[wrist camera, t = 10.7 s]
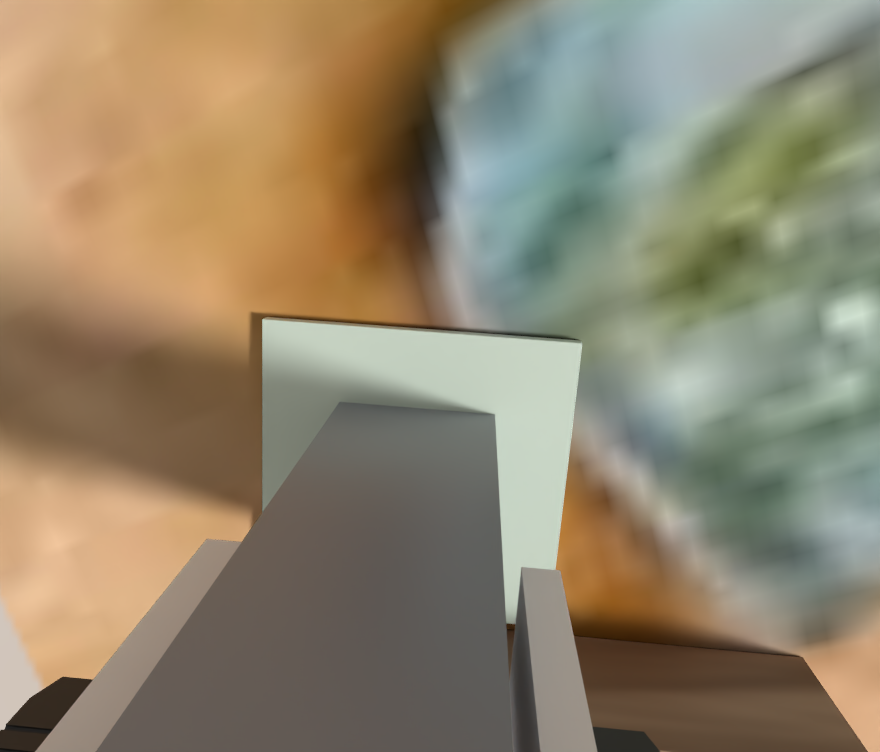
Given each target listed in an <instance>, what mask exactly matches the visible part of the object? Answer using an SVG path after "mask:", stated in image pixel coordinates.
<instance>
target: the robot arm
mask: <svg viewBox="0 0 880 752" xmlns="http://www.w3.org/2000/svg"><path fill="white" fill-rule="evenodd" d="M240 544H241V542H236V541H224V540H213V539H206V540H205V542H204V543H203V544H202V545H201V546H200V548H199V549H198V550H197V551H196V553H195V554H194V555H193V556H192V558H191V559H190V560H189V561H188V563H187V564H186V565H185V566H184V568H183V569H182V570H181V571H180V573H179V574H178V575H177V576H176V577H175V579H174V580H173V581H172V582H171V584H170V585H169V586H168V587H167V589H166V590H165V591H164V592H163V594H162V595H161V596H160V597H159V599H158V600H157V601H156V602H155V604H154V605H153V606H152V607H151V609H150V610H149V611H148V612H147V613H146V615H145V616H144V617H143V618H142V620H141V621H140V622H139V623H138V625H137V626H136V627H135V628H134V630H133V631H132V632H131V633H130V635H129V636H128V637H127V638H126V640H125V641H124V642H123V643H122V645H121V646H120V647H119V648H118V649H117V651H116V652H115V653H114V654H113V656H112V657H111V658H110V659H109V661H108V662H107V663H106V664H105V666H104V667H103V668H102V669H101V671H100V672H99V673H98V674H97V676H96V677H95V678H94V679H93V680H91V679H81V678H70V677H62V678H60V679H59V680H57V681H55V682H54V683H52V684H51V685H49V686H48V687H46V688H45V689H43V690H42V691H40V692H38V693H37V694H35V695H34V696H32V697H31V698H29V700H28V701H27V702H26V703H25V704H24V705H23V706H22V707H21V708H20V710H19V711H18V712H17V713H16V714H15V715H14V716H13V717H12V719H11V720H10V721H9V722H8V723H7V724H6V727H5V729H4V730H1V731H0V752H96V751H97V749H98V748H99V746H100V745H101V743H102V742H103V740H104V739H105V738H106V736H107V735H108V733H109V732H110V730H111V729H112V728H113V726H114V725H115V723H116V722H117V720H118V719H119V718H120V716H121V715H122V713H123V712H124V710H125V709H126V707H127V706H128V705H129V703H130V702H131V700H132V699H133V697H134V696H135V695H136V693H137V692H138V690H139V689H140V687H141V686H142V685H143V683H144V682H145V680H146V679H147V677H148V676H149V674H150V673H151V672H152V670H153V669H154V667H155V666H156V664H157V663H158V662H159V660H160V659H161V657H162V656H163V654H164V653H165V652H166V650H167V649H168V647H169V646H170V644H171V643H172V641H173V640H174V639H175V637H176V636H177V634H178V633H179V631H180V630H181V629H182V627H183V626H184V624H185V623H186V621H187V620H188V619H189V617H190V616H191V614H192V613H193V611H194V610H195V608H196V607H197V606H198V604H199V603H200V601H201V600H202V598H203V597H204V596H205V594H206V593H207V591H208V590H209V588H210V587H211V586H212V584H213V583H214V581H215V580H216V578H217V577H218V575H219V574H220V573H221V571H222V570H223V568H224V567H225V565H226V564H227V563H228V561H229V560H230V558H231V557H232V555H233V554H234V553H235V551H236V550H237V548H238V547H239V545H240ZM509 684H510V703H511V721H512V740H513V752H660V751H659V750H658V748H657V747H656V746H655V745H654V743H653V742H652V741H651V740H650V738H649V737H648V736H647V735H646V733H645V732H642V731H632V730H622V729H612V728H602V727H592V723H591V718H590V713H589V708H588V704H587V699H586V694H585V689H584V684H583V679H582V674H581V669H580V665H579V660H578V655H577V650H576V645H575V640H574V635H573V630H572V626H571V621H570V616H569V611H568V606H567V601H566V596H565V591H564V587H563V582H562V577H561V572H560V570H550V569H538V568H527V567H521V576H520V586H519V595H518V605H517V614H516V624H515V633H514V643H513V652H512V662H511V671H510V681H509Z"/></svg>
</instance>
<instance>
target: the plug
mask: <svg viewBox="0 0 880 752" xmlns="http://www.w3.org/2000/svg"><path fill="white" fill-rule="evenodd" d="M96 752H513V740H512V721H511V703H510V684H509V666H508V647H507V629H506V610H505V591H504V573H503V554H502V536H501V517H500V499H499V480H498V461H497V443H496V424H495V414H485V413H473V412H460V411H448V410H435V409H423V408H410V407H398V406H385V405H373V404H360V403H348V402H339V403H338V405H337V406H336V408H335V409H334V410H333V412H332V413H331V415H330V416H329V418H328V419H327V421H326V422H325V423H324V425H323V426H322V428H321V429H320V431H319V432H318V433H317V435H316V436H315V438H314V439H313V441H312V442H311V443H310V445H309V446H308V448H307V449H306V451H305V452H304V454H303V455H302V456H301V458H300V459H299V461H298V462H297V464H296V465H295V466H294V468H293V469H292V471H291V472H290V474H289V475H288V476H287V478H286V479H285V481H284V482H283V484H282V485H281V487H280V488H279V489H278V491H277V492H276V494H275V495H274V497H273V498H272V499H271V501H270V502H269V504H268V505H267V507H266V508H265V509H264V511H263V512H262V514H261V515H260V517H259V518H258V520H257V521H256V522H255V524H254V525H253V527H252V528H251V530H250V531H249V532H248V534H247V535H246V537H245V538H244V540H243V541H242V542H241V544H240V545H239V547H238V548H237V550H236V551H235V553H234V554H233V555H232V557H231V558H230V560H229V561H228V563H227V564H226V565H225V567H224V568H223V570H222V571H221V573H220V574H219V575H218V577H217V578H216V580H215V581H214V583H213V584H212V586H211V587H210V588H209V590H208V591H207V593H206V594H205V596H204V597H203V598H202V600H201V601H200V603H199V604H198V606H197V607H196V608H195V610H194V611H193V613H192V614H191V616H190V617H189V619H188V620H187V621H186V623H185V624H184V626H183V627H182V629H181V630H180V631H179V633H178V634H177V636H176V637H175V639H174V640H173V641H172V643H171V644H170V646H169V647H168V649H167V650H166V652H165V653H164V654H163V656H162V657H161V659H160V660H159V662H158V663H157V664H156V666H155V667H154V669H153V670H152V672H151V673H150V674H149V676H148V677H147V679H146V680H145V682H144V683H143V685H142V686H141V687H140V689H139V690H138V692H137V693H136V695H135V696H134V697H133V699H132V700H131V702H130V703H129V705H128V706H127V707H126V709H125V710H124V712H123V713H122V715H121V716H120V718H119V719H118V720H117V722H116V723H115V725H114V726H113V728H112V729H111V730H110V732H109V733H108V735H107V736H106V738H105V739H104V740H103V742H102V743H101V745H100V746H99V748H98V749H97V751H96Z"/></svg>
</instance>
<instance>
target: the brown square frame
mask: <svg viewBox="0 0 880 752" xmlns="http://www.w3.org/2000/svg"><path fill="white" fill-rule="evenodd" d="M514 633H515V631H513V630H507V647H508V666H509V681H510V671H511V662H512V652H513V643H514ZM574 640H575V645H576V650H577V655H578V660H579V665H580V669H581V674H582V679H583V684H584V689H585V694H586V699H587V704H588V708H589V713H590V718H591V723H592V727H602V728H612V729H622V730H632V731H642V732H645V733H646V735H647V736H648V737H649V738H650V740H651V741H652V742H653V743H654V745H655V746H656V747H657V748H658V750H659V751H660V752H868V751H867V750H866V749H865V747H864V746H863V744H862V743H861V741H860V740H859V738H858V737H857V736H856V734H855V733H854V731H853V730H852V728H851V727H850V725H849V724H848V722H847V721H846V720H845V718H844V717H843V715H842V714H841V712H840V711H839V709H838V708H837V707H836V705H835V704H834V702H833V701H832V699H831V698H830V696H829V695H828V694H827V692H826V691H825V689H824V688H823V686H822V685H821V683H820V682H819V681H818V679H817V678H816V676H815V675H814V673H813V672H812V670H811V669H810V668H809V666H808V665H807V663H806V662H805V660H804V659H803V657H793V656H783V655H772V654H761V653H750V652H739V651H729V650H718V649H707V648H696V647H686V646H675V645H664V644H653V643H643V642H632V641H621V640H610V639H599V638H589V637H578V636H574Z"/></svg>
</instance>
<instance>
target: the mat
mask: <svg viewBox="0 0 880 752" xmlns="http://www.w3.org/2000/svg"><path fill="white" fill-rule="evenodd" d="M581 351H582V342H581V341H580V340H566V339H553V338H540V337H526V336H513V335H500V334H487V333H473V332H460V331H447V330H434V329H420V328H407V327H394V326H380V325H367V324H354V323H341V322H327V321H314V320H301V319H288V318H274V317H266V318H264V319H262V512H263V511H264V509H265V508H266V507H267V505H268V504H269V502H270V501H271V499H272V498H273V497H274V495H275V494H276V492H277V491H278V489H279V488H280V487H281V485H282V484H283V482H284V481H285V479H286V478H287V476H288V475H289V474H290V472H291V471H292V469H293V468H294V466H295V465H296V464H297V462H298V461H299V459H300V458H301V456H302V455H303V454H304V452H305V451H306V449H307V448H308V446H309V445H310V443H311V442H312V441H313V439H314V438H315V436H316V435H317V433H318V432H319V431H320V429H321V428H322V426H323V425H324V423H325V422H326V421H327V419H328V418H329V416H330V415H331V413H332V412H333V410H334V409H335V408H336V406H337V405H338V403H339V402H348V403H360V404H373V405H385V406H398V407H410V408H423V409H435V410H448V411H460V412H473V413H485V414H495V424H496V443H497V461H498V480H499V499H500V517H501V536H502V554H503V573H504V591H505V610H506V623H508V624H516V614H517V605H518V595H519V586H520V576H521V567H527V568H538V569H550V570H555V569H556V561H557V552H558V544H559V535H560V527H561V519H562V510H563V502H564V493H565V485H566V477H567V468H568V460H569V452H570V443H571V435H572V426H573V418H574V410H575V401H576V393H577V384H578V376H579V368H580V359H581Z"/></svg>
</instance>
